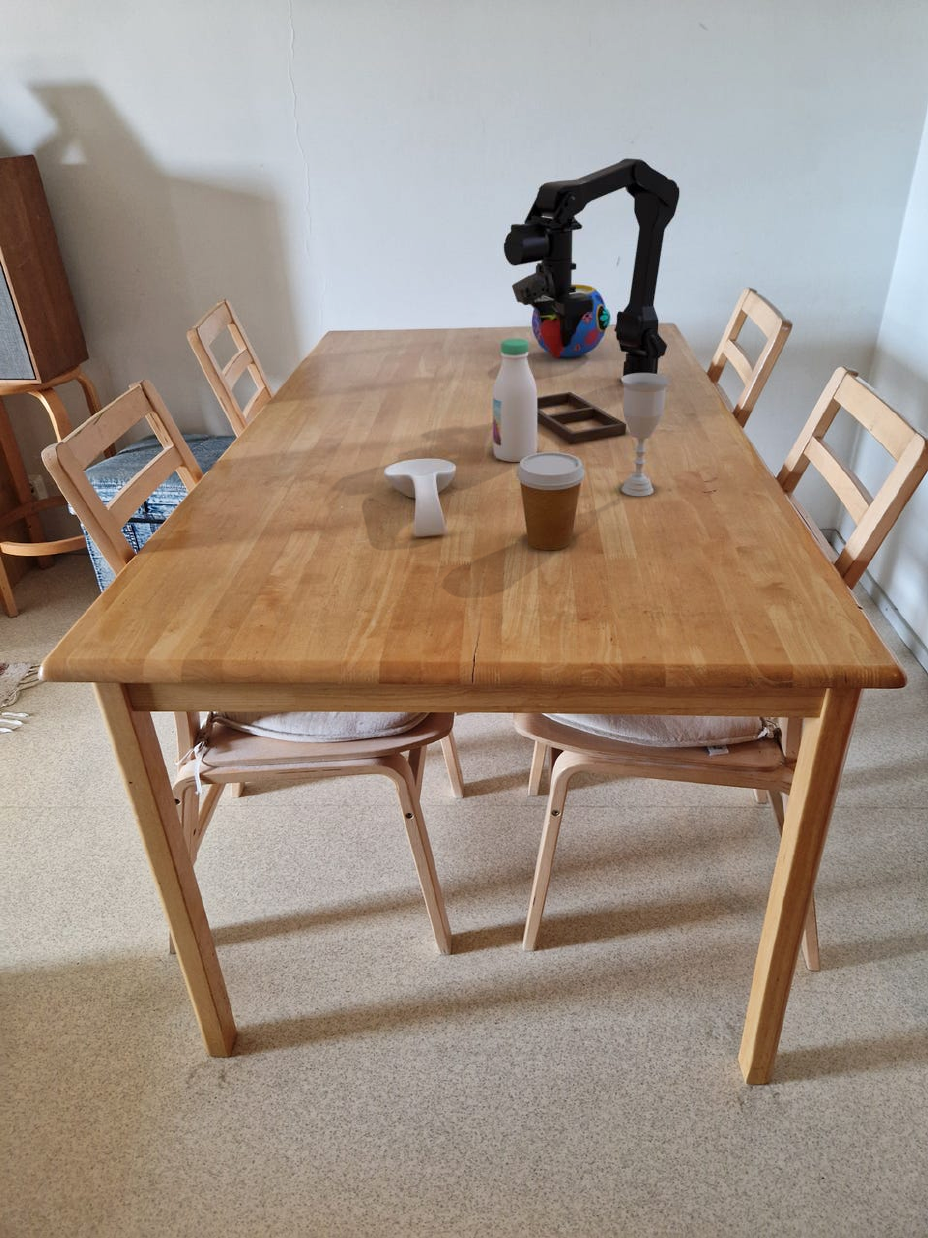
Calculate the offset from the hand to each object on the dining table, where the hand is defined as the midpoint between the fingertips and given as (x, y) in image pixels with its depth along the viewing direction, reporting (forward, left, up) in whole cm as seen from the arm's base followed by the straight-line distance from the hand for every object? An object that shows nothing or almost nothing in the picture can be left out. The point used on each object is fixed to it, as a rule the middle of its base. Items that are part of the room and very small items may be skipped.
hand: (555, 342), depth 175 cm
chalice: (+8, +44, -13) cm, 46 cm away
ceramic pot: (-20, -32, -13) cm, 40 cm away
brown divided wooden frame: (+2, +10, -13) cm, 16 cm away
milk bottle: (+19, +21, -13) cm, 31 cm away
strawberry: (0, 0, -3) cm, 3 cm away
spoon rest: (+41, +34, -13) cm, 54 cm away
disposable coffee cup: (+29, +54, -13) cm, 62 cm away
